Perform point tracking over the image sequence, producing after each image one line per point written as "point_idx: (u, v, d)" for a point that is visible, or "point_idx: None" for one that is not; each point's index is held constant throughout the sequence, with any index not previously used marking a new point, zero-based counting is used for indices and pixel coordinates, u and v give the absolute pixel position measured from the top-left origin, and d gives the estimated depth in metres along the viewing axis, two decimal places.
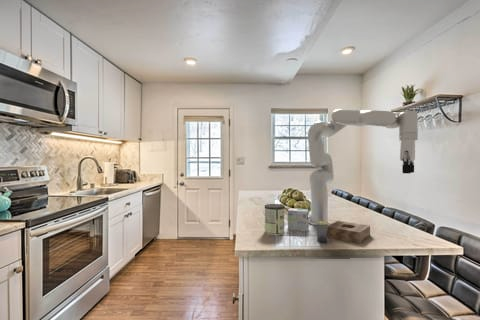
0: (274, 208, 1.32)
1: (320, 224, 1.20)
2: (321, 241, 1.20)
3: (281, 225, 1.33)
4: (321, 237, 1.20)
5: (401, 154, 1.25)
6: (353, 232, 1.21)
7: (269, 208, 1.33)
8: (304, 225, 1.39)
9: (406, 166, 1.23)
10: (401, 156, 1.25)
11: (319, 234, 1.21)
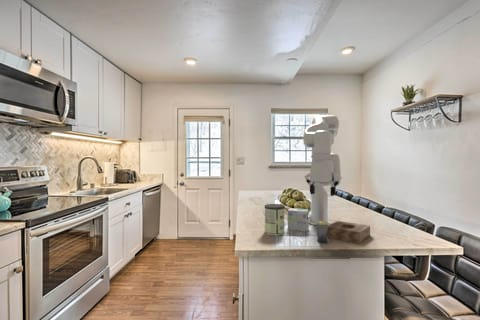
0: (274, 208, 1.32)
1: (320, 224, 1.20)
2: (321, 241, 1.20)
3: (281, 225, 1.33)
4: (321, 237, 1.20)
5: (331, 176, 1.17)
6: (353, 232, 1.21)
7: (269, 208, 1.33)
8: (304, 225, 1.39)
9: (334, 188, 1.18)
10: (331, 178, 1.17)
11: (319, 234, 1.21)
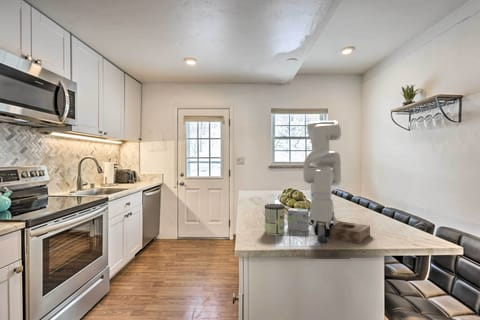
0: (274, 208, 1.32)
1: (320, 224, 1.20)
2: (321, 241, 1.20)
3: (281, 225, 1.33)
4: (321, 237, 1.20)
5: (331, 216, 1.17)
6: (353, 232, 1.21)
7: (269, 208, 1.33)
8: (304, 225, 1.39)
9: (329, 230, 1.20)
10: (331, 218, 1.17)
11: (319, 234, 1.21)
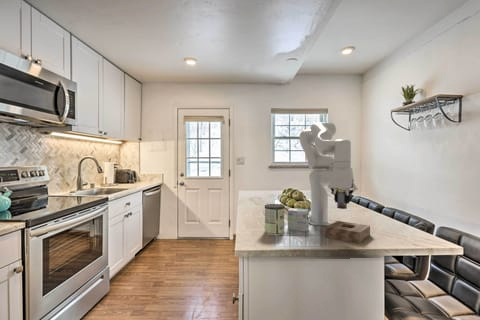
0: (274, 208, 1.32)
1: (340, 191, 1.27)
2: (341, 207, 1.27)
3: (281, 225, 1.33)
4: (341, 203, 1.27)
5: (351, 183, 1.24)
6: (353, 232, 1.21)
7: (269, 208, 1.33)
8: (304, 225, 1.39)
9: (349, 196, 1.26)
10: (351, 185, 1.24)
11: (339, 201, 1.27)
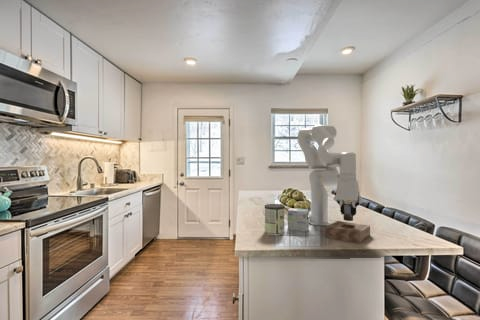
0: (274, 208, 1.32)
1: (346, 203, 1.28)
2: (347, 219, 1.28)
3: (281, 225, 1.33)
4: (348, 215, 1.28)
5: (357, 195, 1.25)
6: (353, 232, 1.21)
7: (269, 208, 1.33)
8: (304, 225, 1.39)
9: (355, 208, 1.28)
10: (357, 197, 1.25)
11: (345, 213, 1.29)
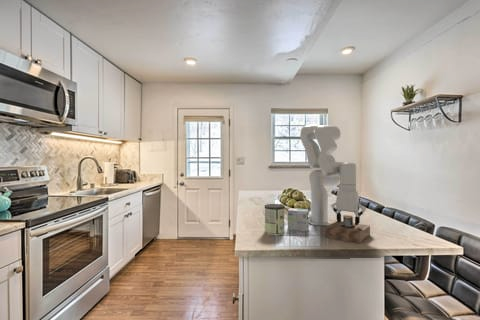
0: (274, 208, 1.32)
1: (346, 218, 1.28)
2: None
3: (281, 225, 1.33)
4: None
5: (357, 206, 1.25)
6: (353, 232, 1.21)
7: (269, 208, 1.33)
8: (304, 225, 1.39)
9: (359, 218, 1.27)
10: (357, 208, 1.25)
11: None
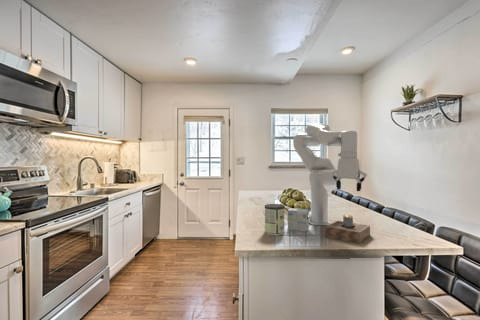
0: (274, 208, 1.32)
1: (346, 218, 1.28)
2: None
3: (281, 225, 1.33)
4: None
5: (357, 173, 1.27)
6: (353, 232, 1.21)
7: (269, 208, 1.33)
8: (304, 225, 1.39)
9: (360, 184, 1.28)
10: (357, 174, 1.27)
11: None
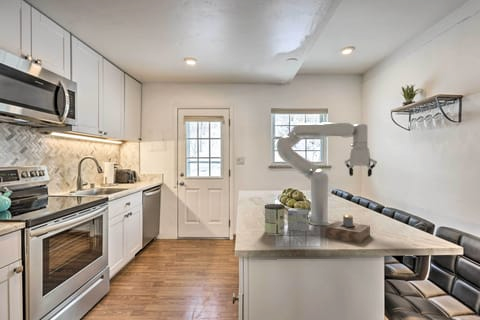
0: (274, 208, 1.32)
1: (346, 218, 1.28)
2: None
3: (281, 225, 1.33)
4: None
5: (368, 160, 1.46)
6: (353, 232, 1.21)
7: (269, 208, 1.33)
8: (304, 225, 1.39)
9: (371, 170, 1.47)
10: (368, 162, 1.46)
11: None
